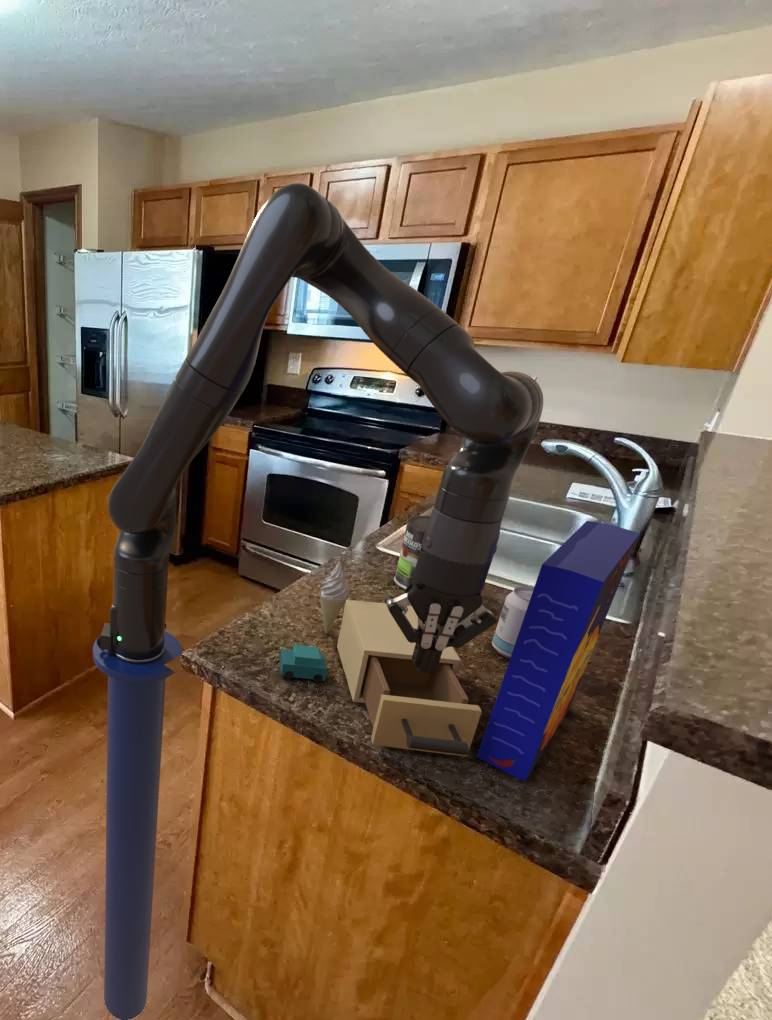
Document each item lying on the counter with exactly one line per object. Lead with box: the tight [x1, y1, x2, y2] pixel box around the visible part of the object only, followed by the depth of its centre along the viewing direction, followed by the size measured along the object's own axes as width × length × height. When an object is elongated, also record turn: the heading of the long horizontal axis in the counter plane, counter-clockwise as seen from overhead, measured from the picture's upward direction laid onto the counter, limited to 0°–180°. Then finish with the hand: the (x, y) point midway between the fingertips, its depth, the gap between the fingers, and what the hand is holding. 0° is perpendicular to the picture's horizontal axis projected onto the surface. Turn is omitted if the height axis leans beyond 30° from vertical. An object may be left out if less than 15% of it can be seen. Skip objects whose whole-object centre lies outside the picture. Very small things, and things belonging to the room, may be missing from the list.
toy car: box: [279, 644, 328, 683], centre depth 99 cm, size 4×7×4 cm, turn 81°
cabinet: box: [336, 599, 462, 704], centre depth 97 cm, size 16×14×10 cm
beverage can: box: [491, 586, 534, 660], centre depth 104 cm, size 7×7×12 cm
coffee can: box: [393, 515, 430, 590], centre depth 127 cm, size 10×10×14 cm
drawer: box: [361, 655, 483, 758], centre depth 85 cm, size 20×12×8 cm, turn 171°
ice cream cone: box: [318, 560, 351, 634], centre depth 108 cm, size 5×5×15 cm
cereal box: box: [476, 520, 641, 783], centre depth 81 cm, size 22×6×30 cm, turn 133°
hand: (422, 668), depth 77 cm, fingers closed
